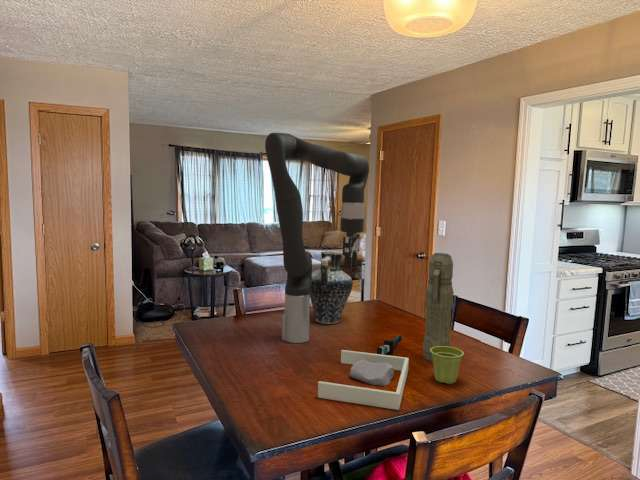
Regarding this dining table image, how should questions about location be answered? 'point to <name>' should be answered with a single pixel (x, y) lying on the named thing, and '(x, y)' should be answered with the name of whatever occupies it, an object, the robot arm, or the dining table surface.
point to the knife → (389, 346)
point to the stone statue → (438, 303)
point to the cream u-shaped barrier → (367, 394)
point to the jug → (329, 289)
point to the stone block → (372, 372)
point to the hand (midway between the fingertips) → (350, 267)
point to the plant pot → (446, 363)
